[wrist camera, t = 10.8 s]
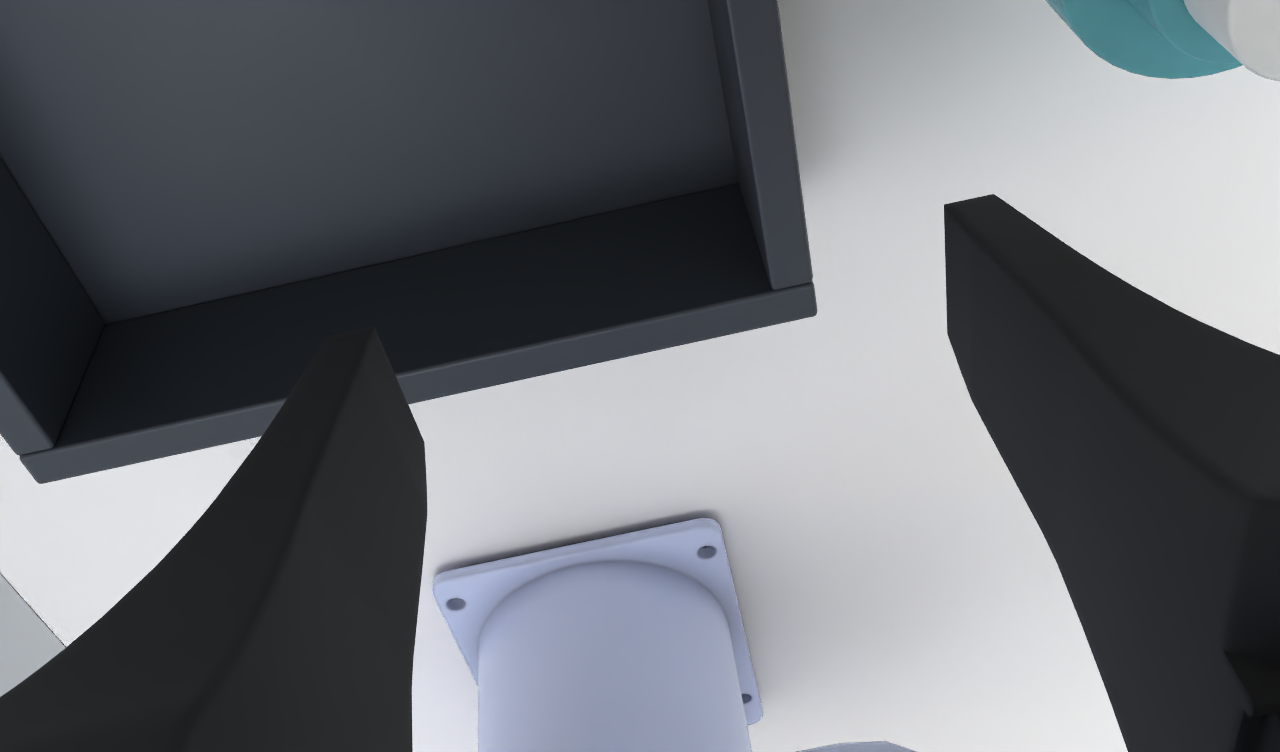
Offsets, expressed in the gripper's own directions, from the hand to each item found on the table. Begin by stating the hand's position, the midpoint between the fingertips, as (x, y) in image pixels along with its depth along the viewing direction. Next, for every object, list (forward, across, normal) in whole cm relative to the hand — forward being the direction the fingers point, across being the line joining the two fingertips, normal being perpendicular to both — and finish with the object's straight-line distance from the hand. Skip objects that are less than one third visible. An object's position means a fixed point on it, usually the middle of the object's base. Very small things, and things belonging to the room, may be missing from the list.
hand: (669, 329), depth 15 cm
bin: (+10, +5, -2) cm, 11 cm away
